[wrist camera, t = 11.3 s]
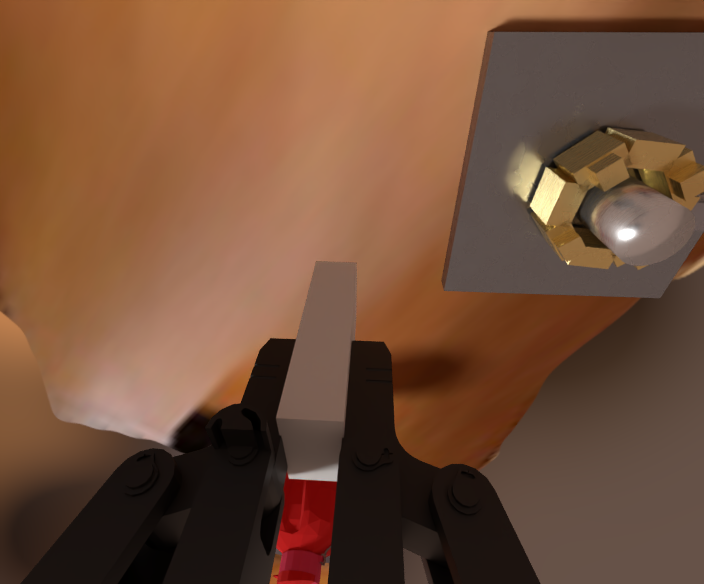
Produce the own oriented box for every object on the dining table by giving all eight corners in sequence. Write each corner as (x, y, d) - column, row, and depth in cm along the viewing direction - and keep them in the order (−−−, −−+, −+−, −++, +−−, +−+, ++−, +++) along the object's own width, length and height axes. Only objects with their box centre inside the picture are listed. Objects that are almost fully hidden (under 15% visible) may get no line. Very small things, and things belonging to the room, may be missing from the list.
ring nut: (515, 239, 36) (535, 269, 32) (564, 122, 29) (597, 139, 25) (718, 262, 36) (765, 294, 32) (811, 150, 30) (887, 171, 25)
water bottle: (372, 401, 57) (369, 603, 37) (308, 409, 59) (273, 604, 39) (356, 362, 52) (343, 574, 32) (287, 373, 54) (234, 577, 34)
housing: (487, 31, 28) (538, 32, 19) (806, 32, 27) (1014, 34, 18) (441, 280, 42) (458, 347, 34) (648, 287, 41) (722, 357, 33)
